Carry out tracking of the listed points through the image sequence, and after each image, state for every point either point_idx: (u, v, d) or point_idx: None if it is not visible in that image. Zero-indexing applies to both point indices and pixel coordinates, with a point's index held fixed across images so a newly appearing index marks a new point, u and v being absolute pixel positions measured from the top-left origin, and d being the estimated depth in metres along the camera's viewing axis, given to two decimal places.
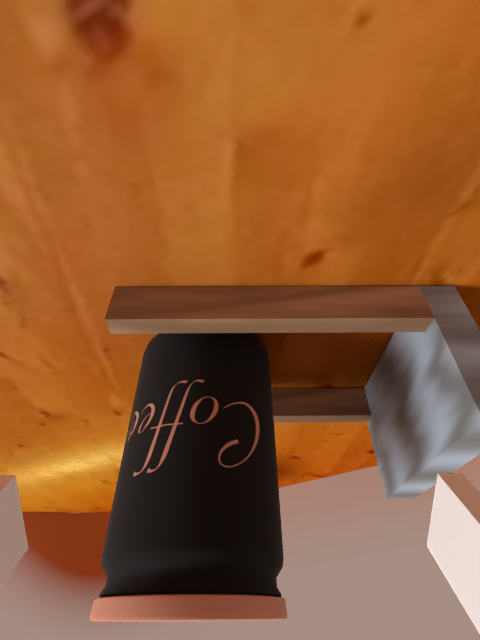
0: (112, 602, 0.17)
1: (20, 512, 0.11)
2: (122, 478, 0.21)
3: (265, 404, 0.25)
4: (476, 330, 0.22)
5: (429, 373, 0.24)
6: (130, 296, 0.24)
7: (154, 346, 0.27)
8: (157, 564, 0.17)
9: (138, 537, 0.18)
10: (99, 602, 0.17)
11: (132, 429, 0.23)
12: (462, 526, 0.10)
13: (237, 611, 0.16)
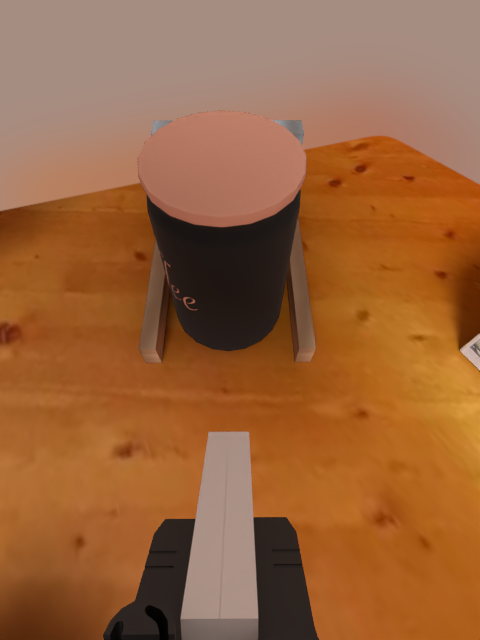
0: (153, 202, 0.21)
1: None
2: (182, 276, 0.25)
3: None
4: None
5: None
6: None
7: (188, 331, 0.34)
8: None
9: (153, 223, 0.23)
10: (168, 213, 0.20)
11: (187, 300, 0.28)
12: None
13: None
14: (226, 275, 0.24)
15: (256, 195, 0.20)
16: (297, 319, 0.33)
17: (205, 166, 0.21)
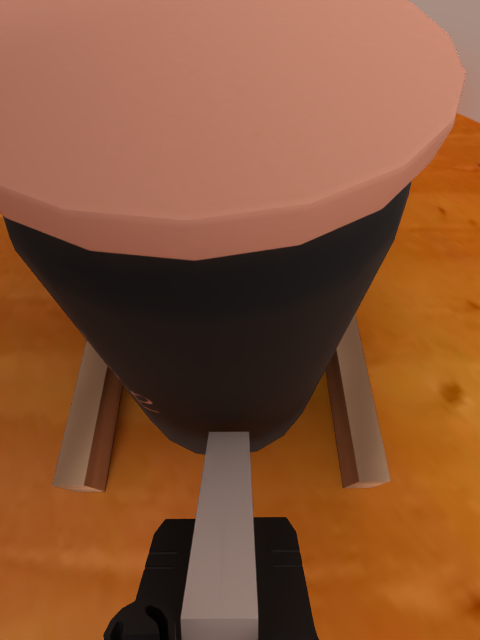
0: None
1: None
2: (112, 363, 0.11)
3: None
4: None
5: None
6: None
7: (154, 423, 0.19)
8: None
9: None
10: None
11: (137, 396, 0.13)
12: None
13: None
14: (218, 374, 0.09)
15: (320, 139, 0.05)
16: (350, 417, 0.18)
17: (143, 60, 0.07)
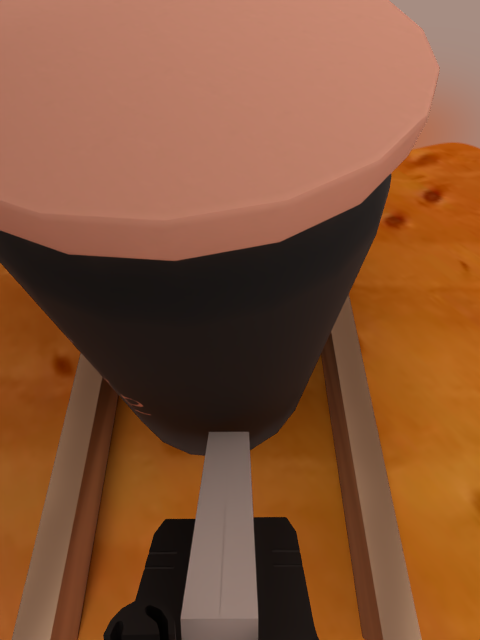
0: None
1: None
2: (100, 367, 0.10)
3: None
4: None
5: None
6: None
7: None
8: None
9: None
10: None
11: (127, 399, 0.13)
12: None
13: None
14: (207, 374, 0.09)
15: (297, 136, 0.05)
16: (372, 561, 0.15)
17: (117, 60, 0.07)
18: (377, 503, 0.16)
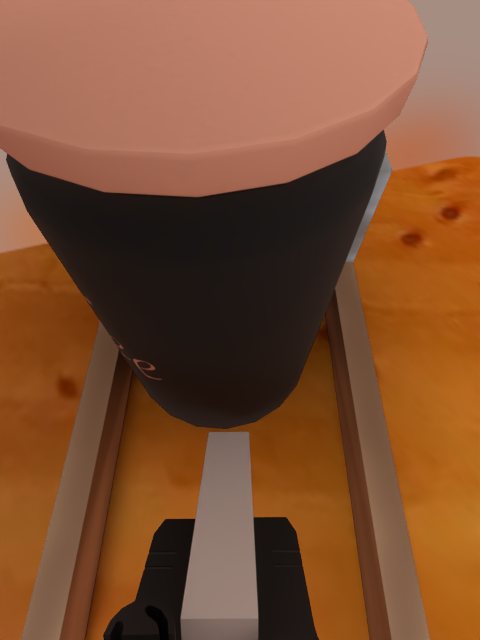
0: None
1: None
2: (117, 325, 0.11)
3: None
4: None
5: None
6: None
7: (155, 399, 0.20)
8: None
9: None
10: (21, 160, 0.06)
11: (140, 363, 0.14)
12: None
13: None
14: (218, 325, 0.10)
15: (302, 90, 0.06)
16: (391, 617, 0.14)
17: (141, 30, 0.07)
18: (395, 552, 0.15)
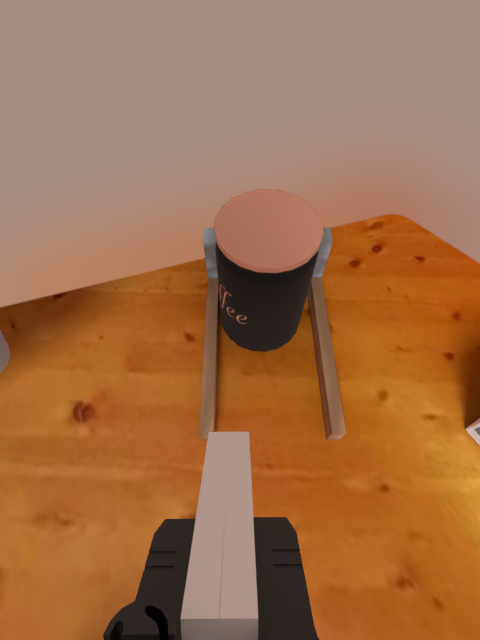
0: (229, 258, 0.33)
1: None
2: (240, 302, 0.37)
3: None
4: None
5: None
6: None
7: (234, 338, 0.45)
8: (220, 252, 0.35)
9: (223, 269, 0.35)
10: (240, 265, 0.32)
11: (240, 317, 0.40)
12: None
13: None
14: (273, 300, 0.36)
15: (295, 251, 0.32)
16: (329, 406, 0.40)
17: (259, 233, 0.33)
18: (332, 387, 0.41)
